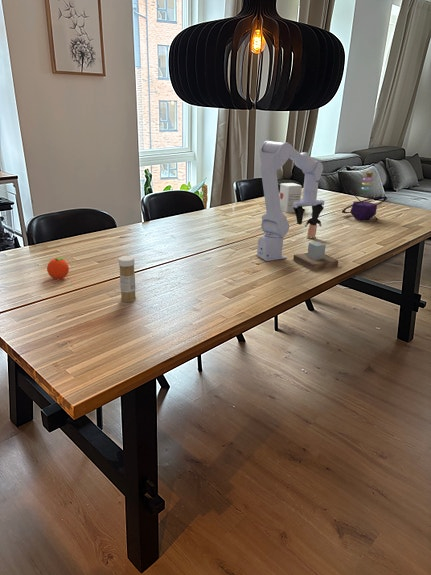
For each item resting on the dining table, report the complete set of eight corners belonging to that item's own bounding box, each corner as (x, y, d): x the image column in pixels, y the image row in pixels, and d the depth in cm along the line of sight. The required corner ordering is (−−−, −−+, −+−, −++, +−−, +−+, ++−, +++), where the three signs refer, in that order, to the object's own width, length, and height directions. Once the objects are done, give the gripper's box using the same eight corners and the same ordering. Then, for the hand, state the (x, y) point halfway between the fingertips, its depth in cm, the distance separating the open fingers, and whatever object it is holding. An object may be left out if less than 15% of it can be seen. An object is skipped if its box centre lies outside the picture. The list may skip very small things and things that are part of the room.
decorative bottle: (388, 225, 229) (397, 176, 220) (347, 224, 229) (354, 174, 220) (374, 215, 250) (382, 169, 240) (337, 214, 250) (343, 168, 240)
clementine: (65, 272, 155) (62, 253, 152) (76, 277, 151) (74, 257, 149) (44, 278, 149) (41, 258, 147) (55, 283, 146) (53, 263, 143)
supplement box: (277, 209, 256) (279, 183, 250) (290, 208, 260) (293, 182, 254) (286, 213, 249) (288, 186, 243) (299, 211, 252) (302, 185, 246)
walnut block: (312, 272, 164) (313, 264, 163) (293, 262, 174) (293, 254, 173) (337, 267, 169) (338, 260, 168) (317, 258, 179) (318, 251, 178)
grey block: (314, 260, 168) (316, 246, 165) (307, 256, 171) (308, 242, 169) (324, 258, 170) (325, 244, 167) (316, 255, 173) (317, 241, 171)
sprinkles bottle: (130, 295, 139) (128, 254, 133) (139, 299, 136) (137, 258, 131) (117, 299, 136) (115, 257, 130) (126, 304, 133) (124, 261, 128)
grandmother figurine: (306, 239, 201) (309, 211, 196) (302, 237, 205) (305, 209, 200) (321, 238, 203) (325, 211, 198) (317, 236, 207) (320, 209, 202)
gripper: (301, 193, 175) (298, 227, 180) (330, 191, 181) (326, 224, 186) (291, 190, 181) (288, 223, 186) (319, 188, 187) (315, 220, 192)
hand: (306, 223), depth 187 cm, fingers open, 7 cm apart
